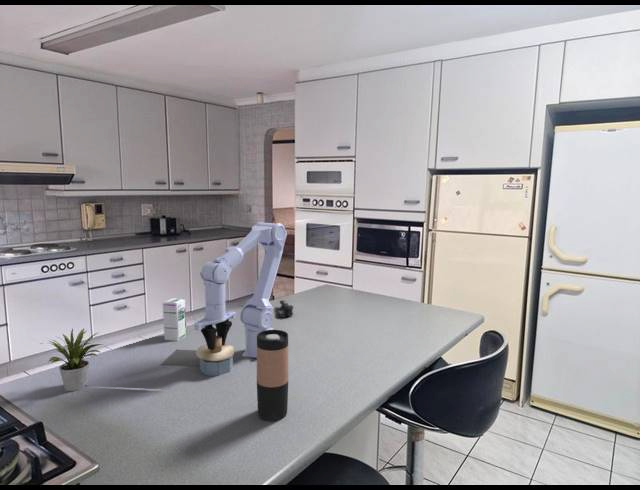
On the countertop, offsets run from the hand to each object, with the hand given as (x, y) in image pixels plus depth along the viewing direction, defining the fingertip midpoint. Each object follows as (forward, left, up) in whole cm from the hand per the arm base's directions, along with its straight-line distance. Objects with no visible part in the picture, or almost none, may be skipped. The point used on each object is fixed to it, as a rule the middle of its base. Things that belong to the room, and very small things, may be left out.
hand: (216, 346), depth 122 cm
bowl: (0, 0, -7) cm, 7 cm away
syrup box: (+23, -24, -8) cm, 34 cm away
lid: (0, 0, -2) cm, 2 cm away
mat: (+12, -7, -7) cm, 16 cm away
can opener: (-11, -60, -8) cm, 62 cm away
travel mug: (-21, +22, -8) cm, 31 cm away
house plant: (+35, +15, -8) cm, 39 cm away
